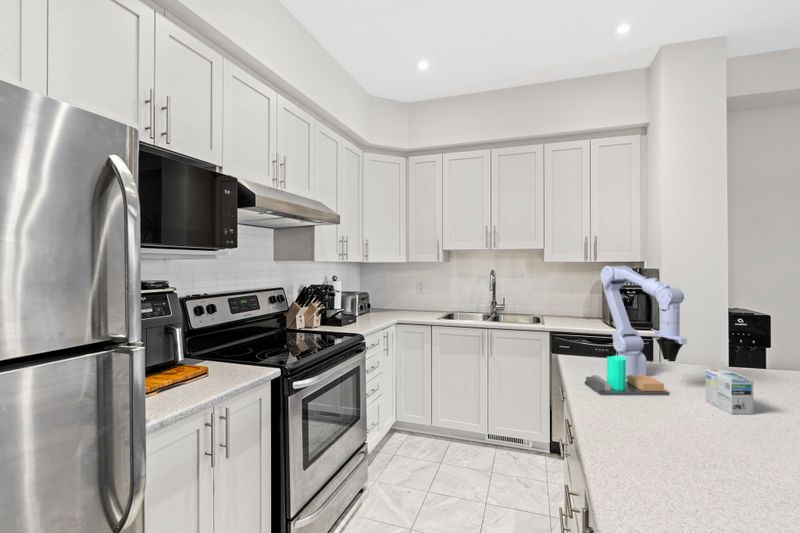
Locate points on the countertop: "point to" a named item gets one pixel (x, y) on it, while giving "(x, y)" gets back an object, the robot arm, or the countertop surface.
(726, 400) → the light bulb box
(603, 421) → the countertop surface
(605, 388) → the dark grey flat block
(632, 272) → the robot arm
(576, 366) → the countertop surface
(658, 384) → the tan flat block
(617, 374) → the candle
